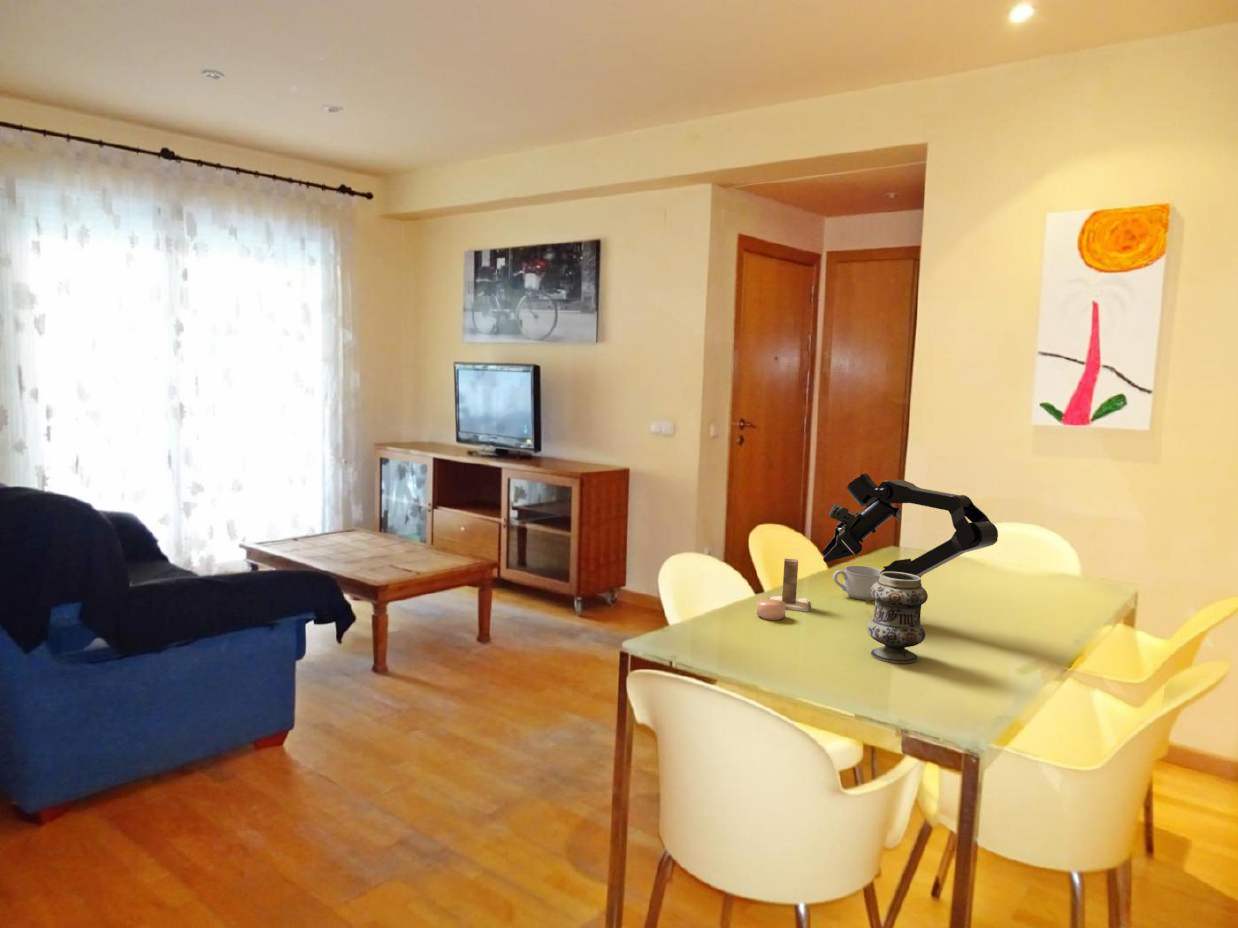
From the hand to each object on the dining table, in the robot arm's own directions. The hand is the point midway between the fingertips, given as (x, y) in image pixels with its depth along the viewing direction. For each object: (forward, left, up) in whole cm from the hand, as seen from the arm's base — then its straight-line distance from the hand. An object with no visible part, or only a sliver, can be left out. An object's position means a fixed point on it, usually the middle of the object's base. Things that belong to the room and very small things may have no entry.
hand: (823, 557), depth 225 cm
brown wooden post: (+3, +8, -13) cm, 16 cm away
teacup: (+11, -15, -14) cm, 23 cm away
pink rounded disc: (-8, +16, -14) cm, 23 cm away
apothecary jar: (-38, 0, -14) cm, 41 cm away
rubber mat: (+3, +8, -14) cm, 16 cm away
